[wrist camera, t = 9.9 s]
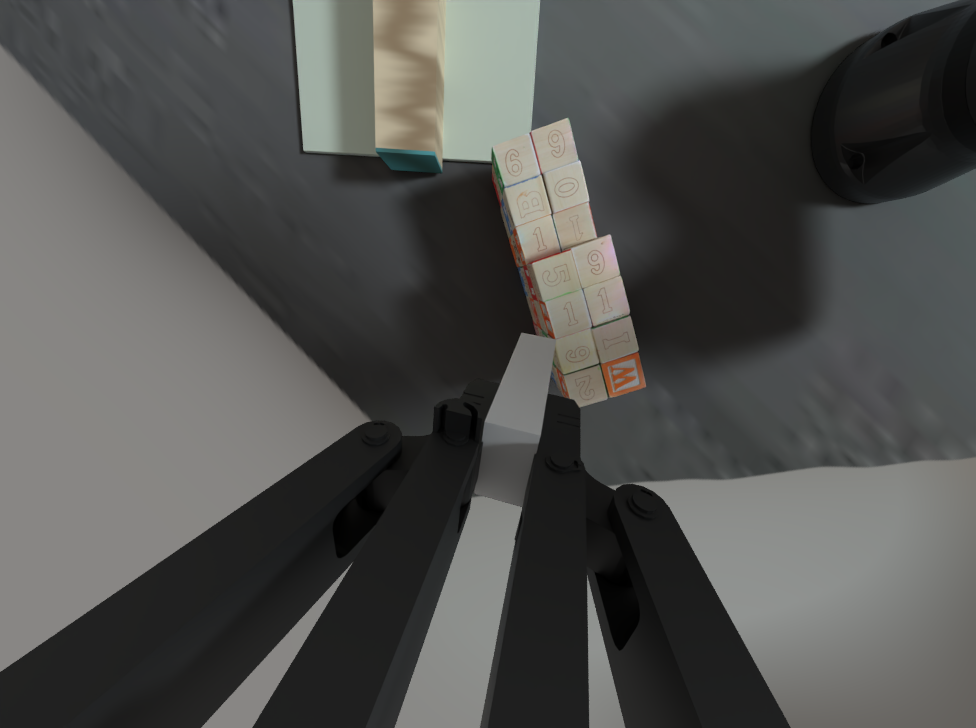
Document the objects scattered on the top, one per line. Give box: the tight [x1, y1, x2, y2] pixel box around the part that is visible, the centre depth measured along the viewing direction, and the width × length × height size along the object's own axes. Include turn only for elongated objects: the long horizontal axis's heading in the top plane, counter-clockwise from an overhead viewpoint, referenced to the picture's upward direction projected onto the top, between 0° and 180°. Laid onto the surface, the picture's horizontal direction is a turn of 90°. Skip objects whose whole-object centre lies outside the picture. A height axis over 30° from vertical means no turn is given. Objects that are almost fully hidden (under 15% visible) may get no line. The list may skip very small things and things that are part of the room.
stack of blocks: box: [491, 118, 646, 407], centre depth 31 cm, size 21×6×12 cm, turn 18°
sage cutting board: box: [293, 0, 540, 163], centre depth 32 cm, size 22×14×1 cm, turn 87°
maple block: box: [373, 0, 446, 173], centre depth 30 cm, size 5×5×15 cm
